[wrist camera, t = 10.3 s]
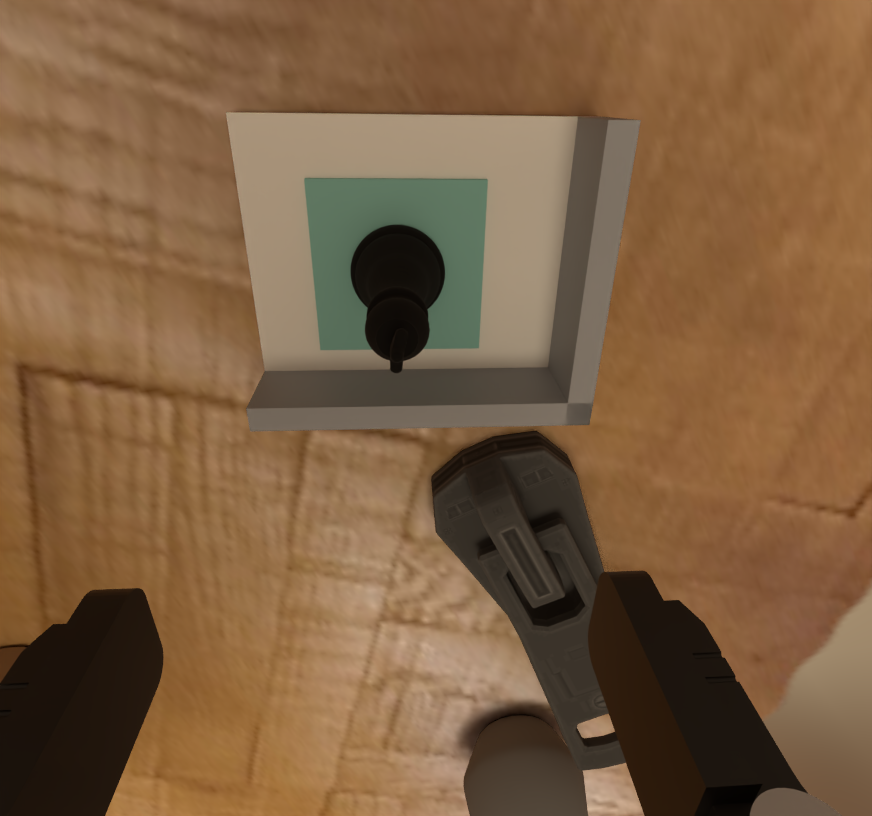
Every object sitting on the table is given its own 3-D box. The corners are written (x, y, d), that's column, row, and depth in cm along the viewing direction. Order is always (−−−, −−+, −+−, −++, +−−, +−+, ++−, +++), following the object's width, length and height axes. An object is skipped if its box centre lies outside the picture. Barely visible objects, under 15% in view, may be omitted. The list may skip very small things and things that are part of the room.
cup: (442, 755, 48) (451, 900, 40) (487, 690, 44) (508, 835, 36) (538, 772, 50) (567, 912, 42) (589, 711, 46) (633, 853, 38)
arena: (271, 383, 30) (250, 431, 26) (232, 112, 24) (194, 114, 20) (562, 378, 31) (589, 424, 27) (598, 116, 25) (640, 120, 20)
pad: (321, 347, 28) (320, 350, 28) (305, 177, 24) (304, 179, 24) (477, 345, 29) (478, 348, 28) (486, 178, 25) (488, 180, 25)
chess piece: (453, 233, 26) (480, 302, 17) (435, 323, 28) (451, 426, 19) (356, 216, 25) (332, 279, 16) (346, 309, 27) (320, 409, 18)
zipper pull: (574, 781, 39) (411, 548, 28) (552, 694, 45) (409, 471, 34) (698, 742, 38) (579, 479, 26) (658, 657, 44) (547, 411, 32)
